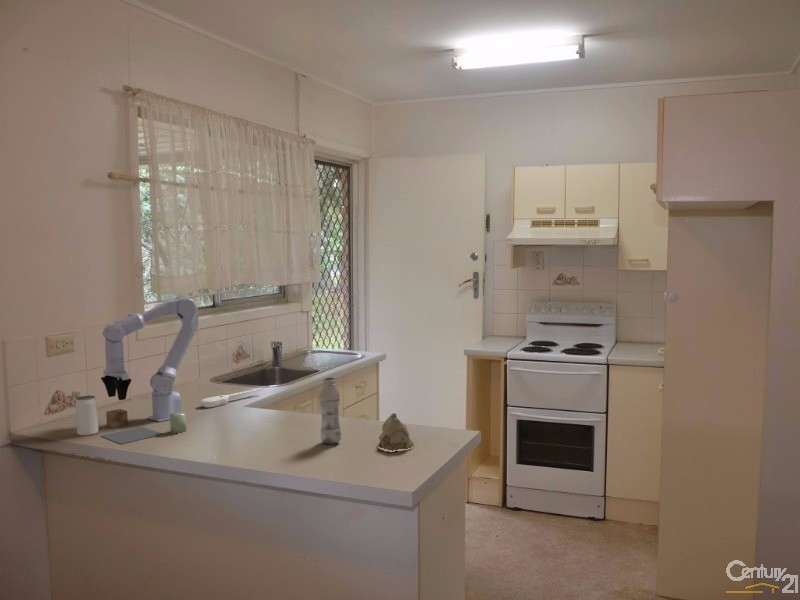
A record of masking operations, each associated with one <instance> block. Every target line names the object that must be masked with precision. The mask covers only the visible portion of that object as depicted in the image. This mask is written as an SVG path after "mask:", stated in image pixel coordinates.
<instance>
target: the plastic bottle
mask: <svg viewBox="0 0 800 600" xmlns="http://www.w3.org/2000/svg"><path fill="white" fill-rule="evenodd" d="M336 383H337V382H336V378H335V377H325V378H323V383H322V385H323V387H322V389H321V391H320V393H319V396H318V397H319V403H320V410H321V413H320V414H321V425H320V426H321V428H320V434H319V436H320V440H321V442H322V443H323V442H324V443H323V444H326V443H329V444H328V445H331V444H332V443H333V444H337V443H339V442H341V439H342V430H341V426H340V424H341V423H340V403H341V394H340V391H339V390H338V389H337V387H336V386H337V384H336ZM333 444H332V445H333Z"/></svg>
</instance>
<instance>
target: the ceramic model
mask: <svg viewBox="0 0 800 600" xmlns="http://www.w3.org/2000/svg"><path fill="white" fill-rule="evenodd" d="M381 430H382V432H381V433H380V435H379V437H378V440H379V443H378V444H377V448H378V447H380V448H384V449H388V450H392V451H393V450H398V449H408V448H411V447H412V446H413V445H414V446H415V443H413V441H412V440H411V438H410V433H409V431H408V428H407V426H406V424H404V423H403V422H402V421H401V420H400V419H399V418H398V416H397V414H396V413H395V412H394V413H392V414H390V416H388V417H387V419H386V420H385V421H383V424H382V428H381Z"/></svg>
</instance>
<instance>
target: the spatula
mask: <svg viewBox="0 0 800 600" xmlns="http://www.w3.org/2000/svg"><path fill="white" fill-rule="evenodd" d="M262 390H263V388H262V387H256V388H253V389H249V390H244V391H241V392H240V391H239V392H235V393H231V394H226V395H225V394H224V395H223V394H222V395H217V396H211V397H207V398H202V399H201V400H200V401H199V402H200V406H201V407H203V408H214V407H218V406H223V405H228V404H229V398H231V397H233V396H239V395H243V394H247V393H253V392H259V391H262Z"/></svg>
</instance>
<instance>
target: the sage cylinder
mask: <svg viewBox="0 0 800 600" xmlns="http://www.w3.org/2000/svg"><path fill="white" fill-rule="evenodd" d="M186 418H187V417H186V412H184V411H183V412H175V413H171V414H170V419H169V428H170V429H169V430H170V431H169V432H171V433H170V434H172V433H181V434H183V433H182V432H185V431H186V432H187V419H186ZM186 432H185V433H186Z"/></svg>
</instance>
